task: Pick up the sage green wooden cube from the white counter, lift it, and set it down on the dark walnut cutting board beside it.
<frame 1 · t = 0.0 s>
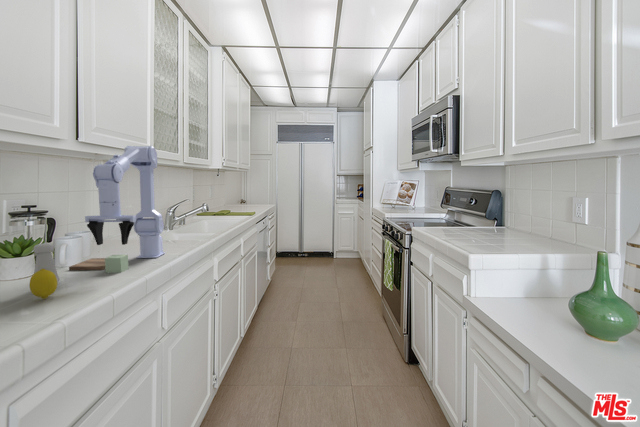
hand: (112, 244, 108), 10 cm above the worktop, tool pointing down, fingers open, 7 cm apart
green cube: (117, 270, 115), on the worktop
cutting board: (97, 265, 122), on the worktop
lemon: (45, 299, 87), on the worktop
salt shaker: (46, 290, 94), on the worktop
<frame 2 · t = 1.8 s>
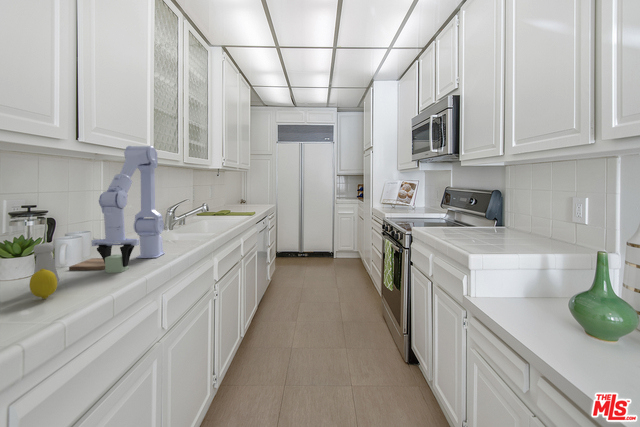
hand: (117, 266, 115), 1 cm above the worktop, tool pointing down, fingers closed on green cube, 5 cm apart
green cube: (117, 270, 115), on the worktop, touching gripper
everything else where it was.
when the fingers open (4 cm above the worktop, at t = 8.2 s): green cube drops 1 cm, resting on cutting board.
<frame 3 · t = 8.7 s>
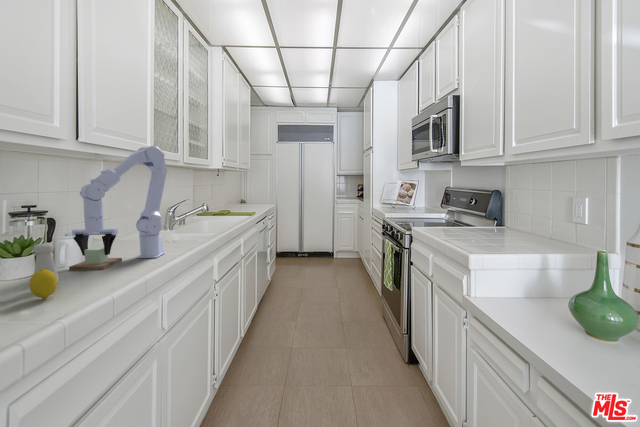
hand: (96, 254, 122), 4 cm above the worktop, tool pointing down, fingers open, 7 cm apart
green cube: (96, 262, 122), point 1 cm above the worktop, touching cutting board
everything else where it was.
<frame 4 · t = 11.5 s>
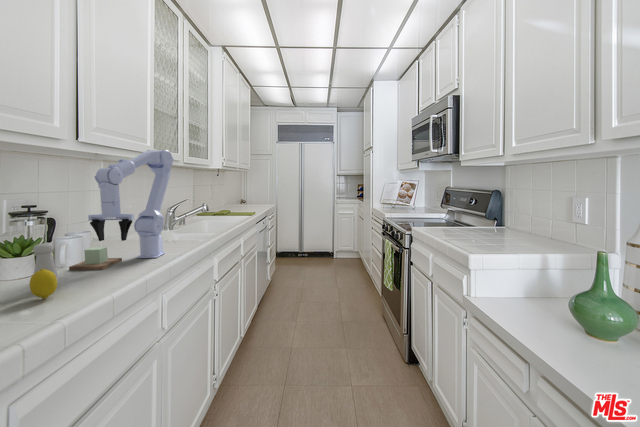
hand: (112, 240, 120), 9 cm above the worktop, tool pointing down, fingers open, 7 cm apart
nothing on the worktop moved.
at the end: green cube inside the target area on the cutting board (0.0 cm from its centre), point 1.2 cm above the cutting board's base; green cube tilted 0°; the gripper is holding nothing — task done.
